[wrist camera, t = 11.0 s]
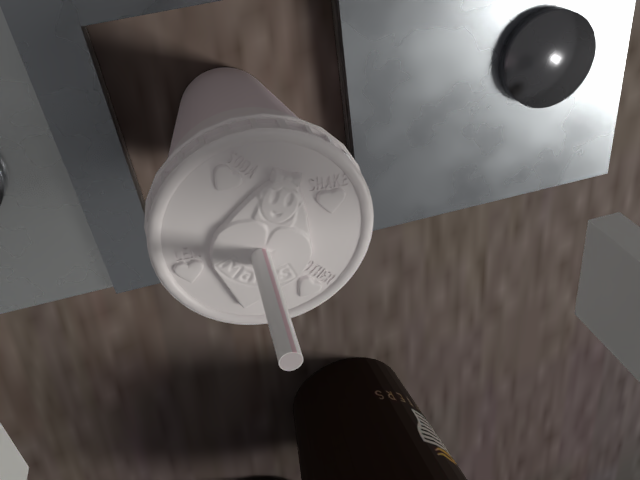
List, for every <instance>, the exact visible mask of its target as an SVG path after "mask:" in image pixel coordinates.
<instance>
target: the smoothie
mask: <svg viewBox="0 0 640 480" xmlns="http://www.w3.org/2000/svg"><path fill="white" fill-rule="evenodd" d="M373 222H374V212H373V203H372V198H371V194H370V191H369V188H368V186H367V183H366V181H365V179H364V177H363V176H362V174H361V171H360V168H359V165H358V164H357V162H356V161H355V160H354V158H353V157H352V155H351V154H350V153H349V151H348V150H347V148H346V147H345V145H344V144H343V143H341V142H340V141H339V140H337V139H336V138H335V137H333V136H332V135H331V134H330V133H328V132H327V131H326V130H324V129H323V128H322V127H320V126H317V125H314V124H312V123H309V122H307V121H304V120H302V119H299V118H298V117H297V116H296V115H295V114H294V113H293V112H292V111H290V110H289V109H288V108H287V107H286V106H285V105H284V104H283V103H282V102H281V101H280V100H279V99H278V98H277V97H275V96H274V95H273V94H272V93H271V92H270V91H269V90H268V89H267V88H266V87H265V86H264V85H263V84H262V83H260V82H259V81H258V80H257V79H256V78H255V77H254V76H252V75H251V74H249V73H247V72H245V71H243V70H240V69H236V68H230V67H222V68H215V69H211V70H208V71H206V72H204V73H202V74H200V75H199V76H197V77H196V78H195V79H194V80H193V81H192V82H191V83H190V84H189V85H188V86H187V88H186V89H185V91H184V93H183V96H182V98H181V102H180V106H179V110H178V115H177V119H176V124H175V128H174V132H173V137H172V141H171V146H170V150H169V154H168V159H167V160H166V161H165V163H164V164H163V165H162V166H161V168H160V169H159V170H158V172H157V173H156V175H155V178H154V180H153V183H152V185H151V188H150V191H149V193H148V196H147V198H146V203H145V219H144V230H145V234H146V238H147V248H148V254H149V258H150V261H151V264H152V267H153V269H154V271H155V273H156V275H157V277H158V278H159V280H160V282H161V283H162V284H163V286H164V287H165V288H166V290H167V291H168V292H169V293H170V294H171V295H172V296H173V297H174V298H175V299H177V300H178V301H179V302H180V303H181V304H183V305H184V306H186V307H187V308H189V309H191V310H192V311H194V312H196V313H198V314H200V315H203V316H205V317H208V318H211V319H214V320H217V321H221V322H226V323H232V324H243V325H257V324H267V323H268V326H269V329H270V333H271V337H272V341H273V345H274V348H275V352H276V356H277V360H278V363H279V366H280V368H281V369H283V370H285V371H292V370H295V369H297V368H299V367H300V366H301V365H302V363H303V356H302V353H301V349H300V346H299V343H298V340H297V337H296V334H295V330H294V327H293V324H292V321H291V318H292V317H296V316H298V315H300V314H303V313H305V312H307V311H309V310H311V309H313V308H315V307H317V306H318V305H320V304H322V303H323V302H325V301H326V300H328V299H329V298H330V297H332V296H333V295H334V294H335V293H336V292H338V291H339V290H340V289H341V288H342V287H343V286H344V285H345V284H346V283H347V282H348V280H349V279H350V278H351V277H352V276H353V274H354V273H355V272H356V270H357V269H358V267H359V265H360V264H361V262H362V260H363V258H364V256H365V254H366V252H367V249H368V247H369V244H370V240H371V236H372V231H373Z"/></svg>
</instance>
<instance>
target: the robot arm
mask: <svg viewBox="0 0 640 480" xmlns="http://www.w3.org/2000/svg"><path fill="white" fill-rule="evenodd" d="M575 315H576V316H577V317H578V318H579V319H580V320H581V321H582V322H583V323H584V324H585V325H586V326H587V327H588V328H589V329H590V330H591V331H592V333H593V334H594V335H595V336H596V337H597V338H598V339H599V340H600V341H601V342H602V343H603V344H604V345H605V346H606V347H607V348H608V349H609V350H610V351H611V352H612V354H613V355H614V356H615V357H616V358H617V359H618V360H619V361H620V362H621V363H622V364H623V365H624V366H625V367H626V368H627V369H628V370H629V371H630V372H631V374H632V375H633V376H634V377H635V378H636V379H637V380H638V381H639V382H640V227H639V226H637V225H636V224H635V223H633V222H632V221H631V220H629V219H628V218H627V217H625V216H624V215H623V214H621V213H620V212H618V213H614V214H610V215H606V216H602V217H598V218H594V219H591V220H588V226H587V233H586V240H585V246H584V253H583V260H582V267H581V273H580V280H579V287H578V294H577V300H576V307H575ZM28 470H29V467H28V465H27V464H26V462H25V460H24V459H23V457H22V456H21V454H20V453H19V451H18V450H17V448H16V446H15V445H14V443H13V442H12V440H11V439H10V437H9V436H8V434H7V432H6V431H5V429H4V428H3V426H2V425H1V423H0V480H27V475H28Z"/></svg>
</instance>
